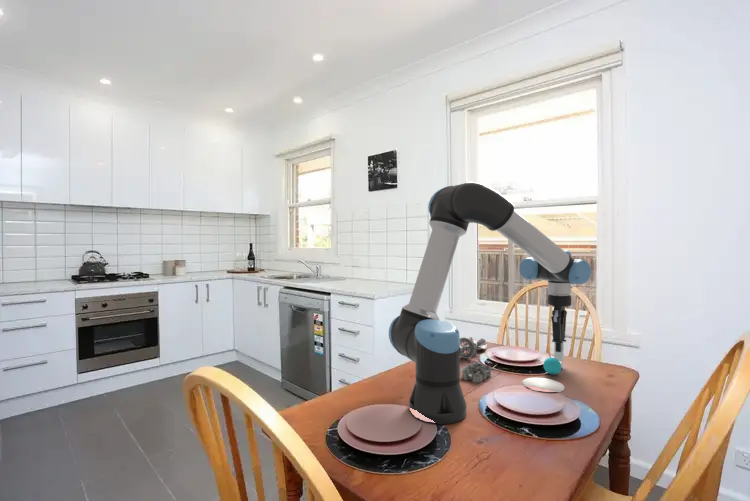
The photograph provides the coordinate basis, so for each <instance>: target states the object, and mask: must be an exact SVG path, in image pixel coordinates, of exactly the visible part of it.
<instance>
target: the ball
mask: <svg viewBox="0 0 750 501" xmlns="http://www.w3.org/2000/svg"><path fill="white" fill-rule="evenodd" d="M542 366H543V369H544V370H545V372H546V373H547V374H549V375H557V374H559V373H561V371H562V363H561V361H559V360H557V359H556V358H554V357H548V358H546V359H545V360H544V361H543V365H542Z"/></svg>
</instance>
